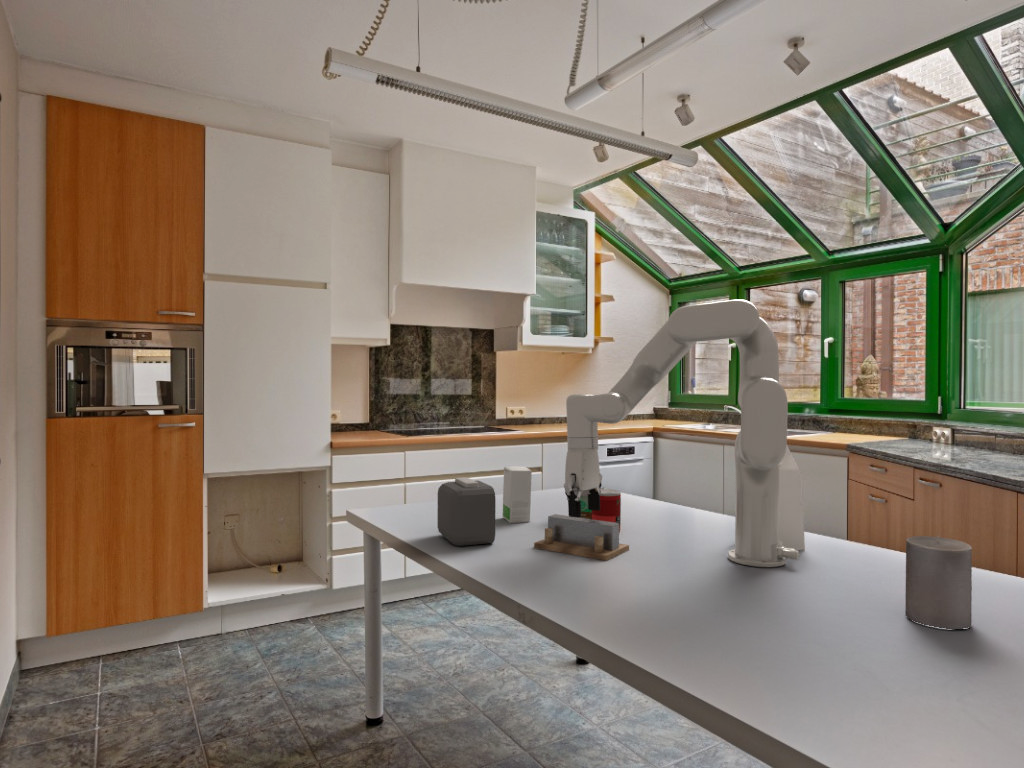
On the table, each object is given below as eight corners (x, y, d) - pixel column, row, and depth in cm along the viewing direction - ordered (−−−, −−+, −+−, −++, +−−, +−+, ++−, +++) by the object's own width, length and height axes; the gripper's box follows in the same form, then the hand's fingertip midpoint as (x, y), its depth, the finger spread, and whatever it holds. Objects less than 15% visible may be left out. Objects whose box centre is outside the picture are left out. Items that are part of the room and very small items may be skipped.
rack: (629, 549, 160) (629, 530, 160) (606, 560, 150) (606, 540, 150) (559, 538, 172) (559, 520, 172) (534, 547, 162) (534, 528, 162)
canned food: (622, 534, 176) (622, 493, 176) (592, 534, 177) (593, 493, 177) (618, 528, 184) (618, 489, 184) (590, 527, 184) (590, 488, 184)
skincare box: (502, 517, 197) (502, 466, 197) (522, 516, 199) (523, 465, 199) (510, 523, 189) (510, 470, 189) (531, 522, 191) (532, 469, 191)
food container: (560, 522, 191) (560, 488, 191) (565, 518, 197) (565, 485, 197) (602, 525, 188) (602, 490, 188) (605, 520, 194) (606, 487, 193)
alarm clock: (495, 545, 164) (495, 483, 164) (451, 549, 160) (452, 486, 160) (474, 531, 179) (475, 474, 179) (434, 534, 175) (434, 476, 175)
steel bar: (547, 540, 164) (548, 516, 164) (555, 537, 167) (555, 514, 167) (612, 551, 154) (612, 525, 154) (618, 548, 157) (619, 523, 157)
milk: (789, 539, 172) (790, 440, 172) (804, 550, 161) (805, 444, 161) (743, 537, 173) (743, 440, 173) (754, 548, 162) (755, 444, 162)
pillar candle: (910, 607, 120) (909, 526, 120) (974, 619, 114) (974, 533, 114) (900, 622, 113) (900, 536, 112) (969, 636, 106) (969, 545, 106)
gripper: (586, 440, 170) (588, 506, 170) (551, 446, 156) (553, 518, 156) (612, 441, 166) (614, 508, 166) (578, 447, 151) (580, 521, 151)
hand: (584, 513), depth 161 cm, fingers open, 9 cm apart
